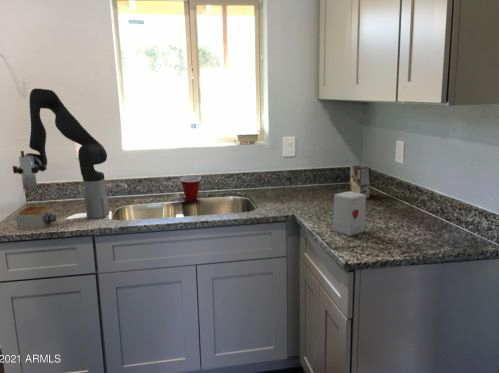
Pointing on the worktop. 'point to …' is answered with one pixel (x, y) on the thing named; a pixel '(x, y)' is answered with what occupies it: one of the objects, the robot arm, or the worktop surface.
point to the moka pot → (27, 171)
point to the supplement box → (349, 213)
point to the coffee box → (360, 180)
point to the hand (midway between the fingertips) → (27, 171)
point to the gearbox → (35, 217)
